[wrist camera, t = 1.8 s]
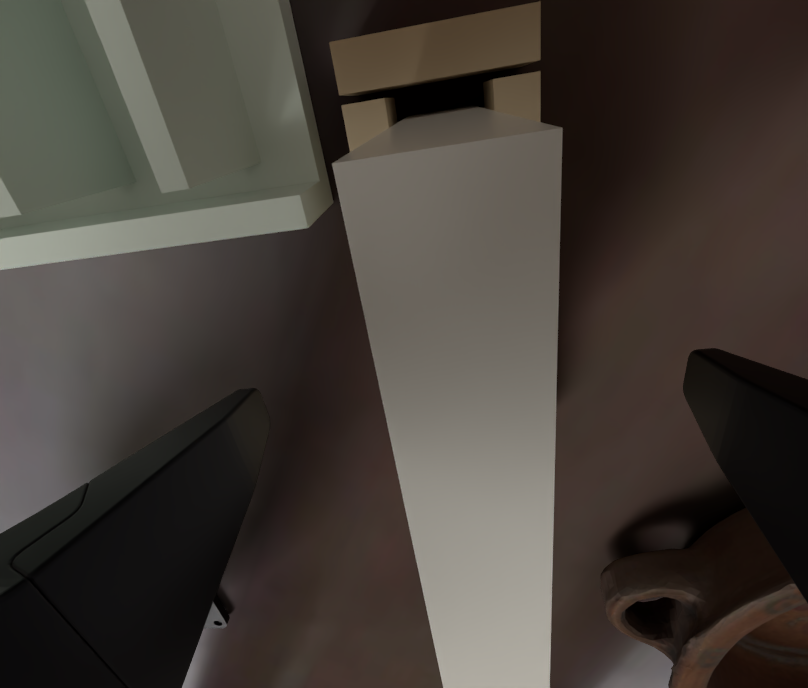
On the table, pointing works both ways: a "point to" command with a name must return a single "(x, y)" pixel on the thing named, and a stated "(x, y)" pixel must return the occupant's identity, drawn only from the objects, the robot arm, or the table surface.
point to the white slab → (468, 369)
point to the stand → (440, 64)
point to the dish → (715, 609)
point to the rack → (152, 126)
